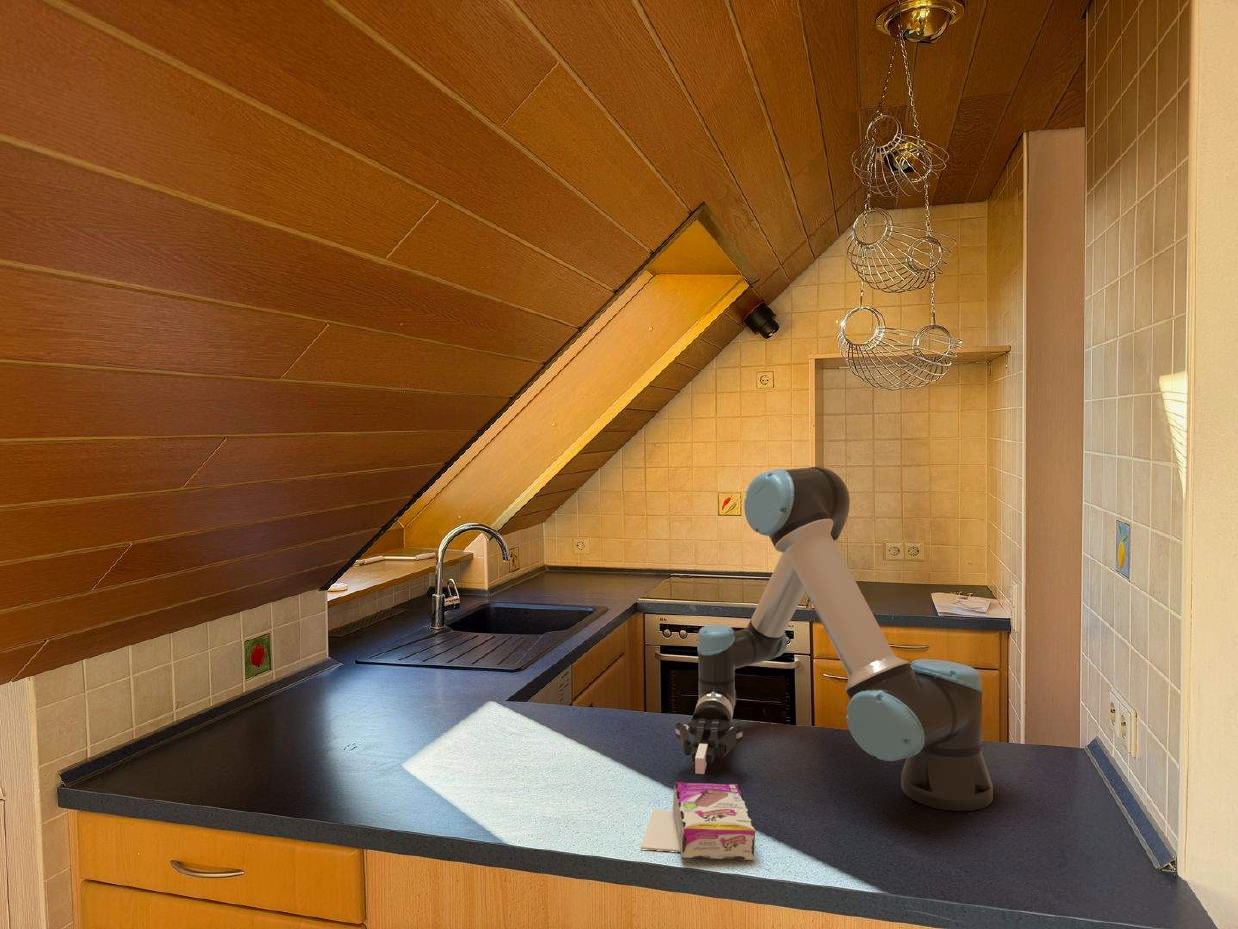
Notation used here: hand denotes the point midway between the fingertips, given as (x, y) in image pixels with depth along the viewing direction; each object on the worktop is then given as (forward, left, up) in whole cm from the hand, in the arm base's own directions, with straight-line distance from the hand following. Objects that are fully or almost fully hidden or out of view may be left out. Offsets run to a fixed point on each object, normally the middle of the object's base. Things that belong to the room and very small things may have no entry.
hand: (699, 766), depth 143 cm
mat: (+8, 0, -8) cm, 11 cm away
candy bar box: (+1, +1, -5) cm, 5 cm away
